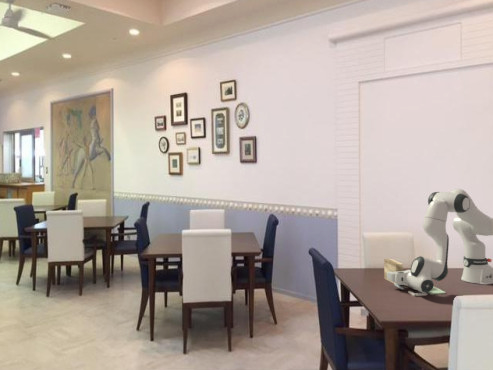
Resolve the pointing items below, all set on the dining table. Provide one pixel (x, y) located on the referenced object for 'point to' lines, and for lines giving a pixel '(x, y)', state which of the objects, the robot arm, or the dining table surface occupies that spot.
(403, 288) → the track
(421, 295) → the trap pen
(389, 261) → the board
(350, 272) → the dining table surface
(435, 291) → the pad
